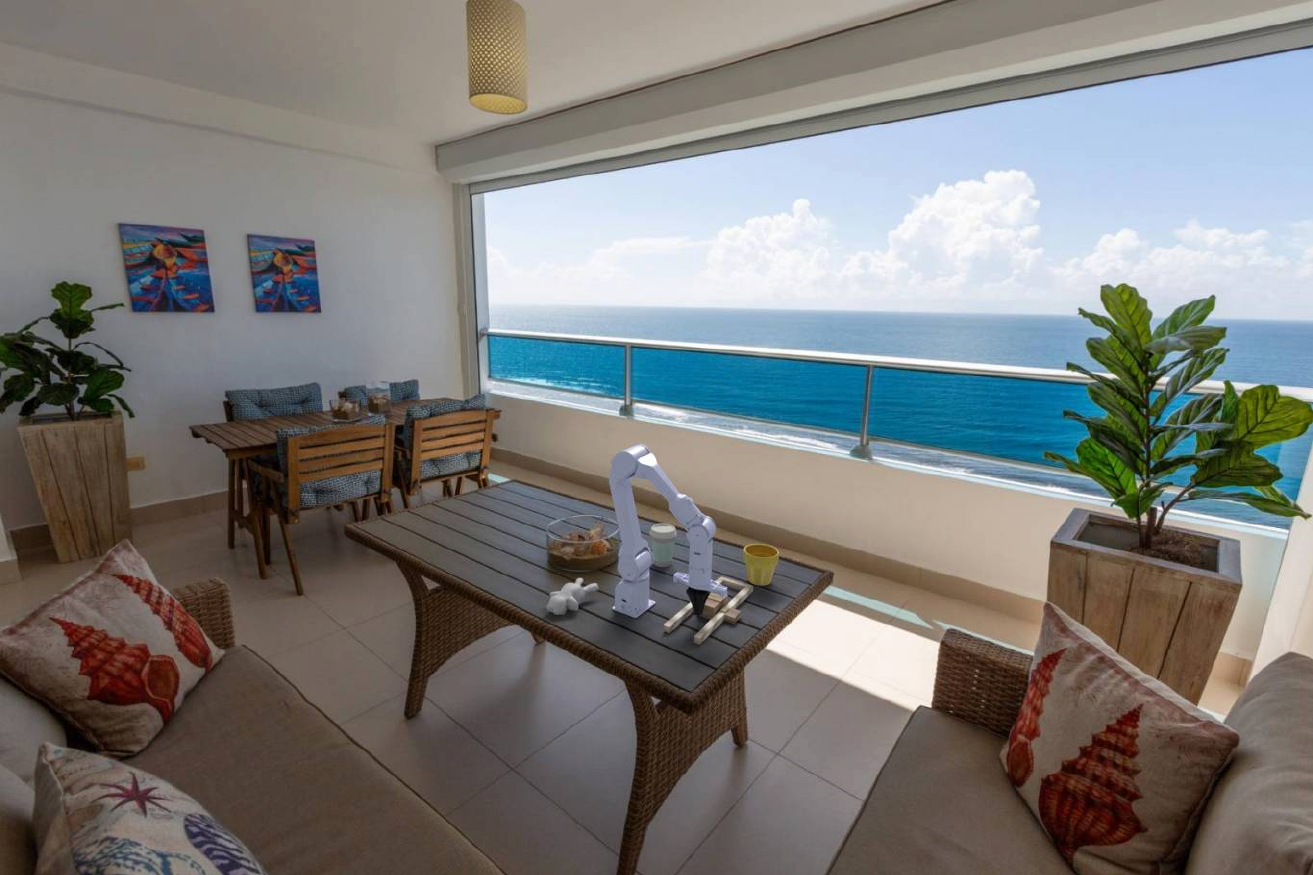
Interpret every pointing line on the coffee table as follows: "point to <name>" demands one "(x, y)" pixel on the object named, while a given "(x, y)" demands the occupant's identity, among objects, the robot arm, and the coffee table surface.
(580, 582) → the bunny figurine
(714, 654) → the coffee table surface
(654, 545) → the coffee cup
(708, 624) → the beam slot
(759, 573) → the plant pot
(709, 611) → the rider block
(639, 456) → the robot arm
